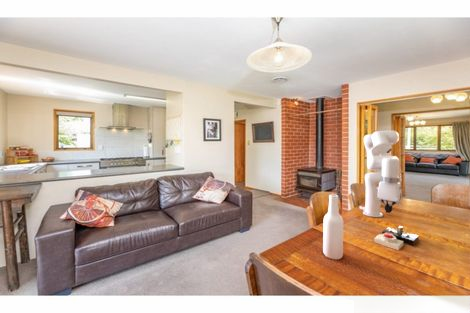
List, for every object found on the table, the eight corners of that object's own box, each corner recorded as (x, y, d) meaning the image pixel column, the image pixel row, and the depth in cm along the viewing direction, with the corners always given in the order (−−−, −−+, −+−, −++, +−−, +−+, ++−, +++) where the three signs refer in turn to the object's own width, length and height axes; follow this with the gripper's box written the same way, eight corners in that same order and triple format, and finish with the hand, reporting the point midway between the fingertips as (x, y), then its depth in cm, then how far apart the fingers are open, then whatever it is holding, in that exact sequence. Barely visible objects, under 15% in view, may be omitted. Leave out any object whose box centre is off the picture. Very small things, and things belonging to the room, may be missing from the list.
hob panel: (381, 236, 118) (382, 231, 118) (387, 231, 124) (388, 226, 124) (413, 246, 107) (413, 240, 106) (418, 240, 113) (418, 234, 112)
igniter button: (383, 236, 110) (383, 233, 110) (385, 234, 112) (385, 231, 112) (391, 239, 107) (391, 236, 107) (393, 237, 109) (393, 234, 109)
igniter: (373, 242, 112) (373, 234, 112) (379, 237, 117) (379, 230, 116) (398, 250, 103) (398, 242, 103) (403, 245, 108) (403, 237, 108)
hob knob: (399, 231, 117) (399, 225, 117) (402, 232, 116) (403, 226, 115) (397, 234, 114) (397, 227, 114) (400, 234, 113) (400, 228, 113)
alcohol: (342, 262, 94) (343, 198, 92) (321, 256, 99) (322, 196, 97) (343, 253, 102) (344, 194, 100) (324, 248, 106) (325, 192, 104)
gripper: (409, 181, 108) (407, 214, 110) (376, 177, 120) (375, 207, 122) (404, 183, 104) (402, 217, 106) (371, 178, 116) (370, 210, 118)
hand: (388, 212), depth 114 cm, fingers closed
